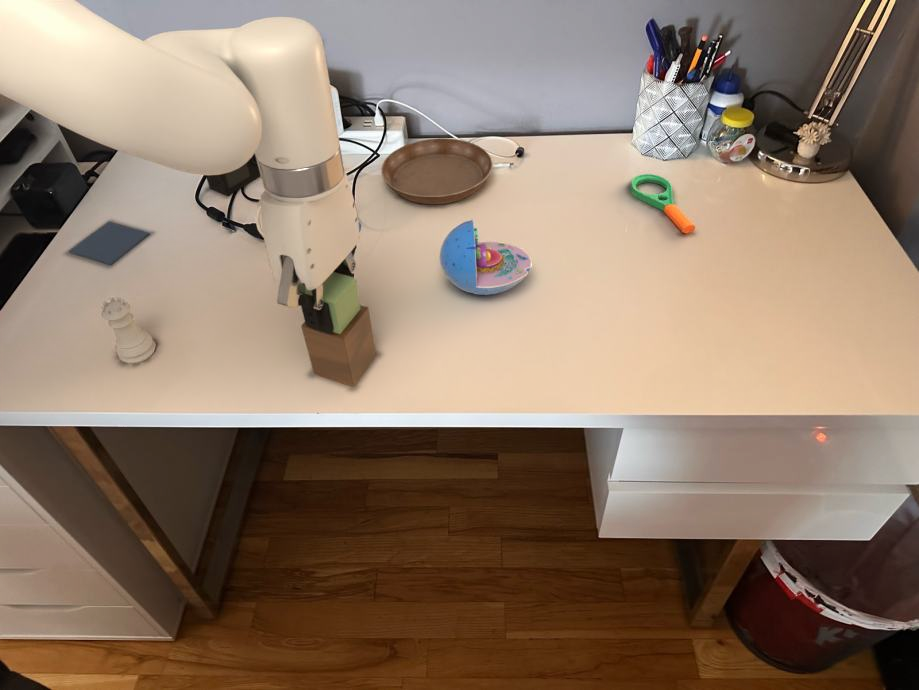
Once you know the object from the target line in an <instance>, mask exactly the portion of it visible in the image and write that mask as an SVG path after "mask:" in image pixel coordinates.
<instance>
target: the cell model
mask: <svg viewBox="0 0 919 690" xmlns="http://www.w3.org/2000/svg"><path fill="white" fill-rule="evenodd" d="M474 223H475V222H474V220H473V219H470V220H467V221H463V222H462V223H460V224H458V225H457V226H456V227H454V228H452V229H451V230H450V232H448V234H447V235H446V237H445V238H444V239H443V241H442V244H441V246H440V249H439V264H440V267H441V270H442V272H443V274H444V275H445V277H446V278H447V279H448V280H449V282H450V283H451V284H452V285H454V286H455V287H456V288H458V289H460V290H462V291H463V292H467V293H468V294H469V293H470V294H474V295H479V296H481V295H482V296H489V295H496V294H499V293H503V292H506V291H508V290H510V289H512V288H514V287H515V286H517V285H518V284H520V283H521V282H522V281H523V280H524V279H526V277H527V276H528V274H529V272H530V270H531V268H532V264H533V261H532V258H531V256H530V255H529V253H527V252H526V251H525V250H524V249H523V248H524V247H522V246H519V247H518V246H517V245H513V244H510V243H505V242H499V241H479V232H478V227H475V225H474Z"/></svg>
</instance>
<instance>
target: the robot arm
mask: <svg viewBox="0 0 919 690" xmlns="http://www.w3.org/2000/svg"><path fill="white" fill-rule="evenodd" d="M331 87H332V86H331V81H330V76H329V70H328V63H327V57H326V51H325V47H324V41H323V39H322V36H321V34H320V33H319V31H318V29H317V28H316V27H315V26H314V25H313V24H312V23H310V22H308V21H306V20H304V19H302V18H298V17H291V16H270V17H263V18H259V19H255V20H252V21H249V22H247V23H244V24H243V25H241V26H239V27H233V28H232V27H230V28H213V29H184V30H171V31H165V32H161V33H157V34H154V35H151V36H150V37H147V38H146V39H145V40H142V39H140V38H138V37H136V36H134V35H132V34H131V33H129V32H127V31H125V30H123V29H121V28H120V27H118V26H116V25H115V24H112V23H111V22H109V21H108V20H107V19H105V18H103V17H101V16H100V15H98V14H96V13H95V12H93V11H92V10H90V9H89V8H87V7H86V6H84V5H82V4H81V3H79V2H78V1H77V0H0V95H2V96H4V97H6V98H8V99H10V100H12V101H14V102H16V103H18V104H20V105H22V106H24V107H25V108H27V109H30V110H32V111H33V112H35V113H37V114H39V115H41V116H42V117H44V118H47V119H48V120H50V121H52V122H54V123H56V124H57V125H59V126H61V127H63V128H65V129H68V130H70V131H71V132H74V133H76V134H78V135H80V136H82V137H84V138H86V139H89V140H91V141H93V142H96V143H98V144H100V145H102V146H105V147H108V148H111V149H113V150H116V151H118V152H121V153H124V154H127V155H130V156H132V157H136V158H139V159H142V160H145V161H148V162H151V163H154V164H157V165H159V166H163V167H165V168H169V169H172V170H176V171H179V172H182V173H189V174H193V175H199V176H206V175H220V174H224V173H229V172H231V171H234V170H236V169H238V168H240V167H241V166H243V165H244V164H246V163H247V162H248V161H249V159H250V158H251V157H252V156H253V155H254V153H255V156H256V159H257V163H258V167H259V171H260V175H261V176H260V178H261V183H262V185H263V190H264V191H263V193H262V194H261V195H260V199H261V218H262V227H263V234H264V238H263V240H264V245H265V251H266V255H267V260H268V263H269V268H270V271H271V275H272V277H273V280H274V281H275V282H277V283H279V286H278V292H277V296H276V297H277V298H276V303H277V305H280V306H283V307H285V308H299V307H300V308H301V311H303V312H302V314H303V319H304V322H305V323H306V326H307V327H309V328H311V329H314V330H318V331H322V332H325V333H328V334H330V333H331V332H332V331H333V324H332V320H331V315H330V310H329V306H328V304H327V303H325V302H324V299H323V282H324V281H325V280H326V279H327V278H328V277H329V276H330V275H331V274H332V272H336V273H339V274H343V275H347V276H350V277H354V278H356V277H355V273H353V272H354V271H355V270H356V266H357V264H356V261H355V253H356V251H357V247H358V246H357V245H358V242H359V239H360V233H361V231H362V223H360V222H359V217H358V213H357V208H356V203H355V198H354V195H353V191H352V188H351V184H350V180H349V177H348V174H347V171H346V169H345V166H344V162H343V155H342V150H341V149H342V148H341V144H340V136H339V131H338V125H337V119H336V112H335V106H334V101H333V94H332V93H333V92H332V88H331ZM305 286H306V289H307V290H309V291H310V290H312V295H309V294H305Z"/></svg>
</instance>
